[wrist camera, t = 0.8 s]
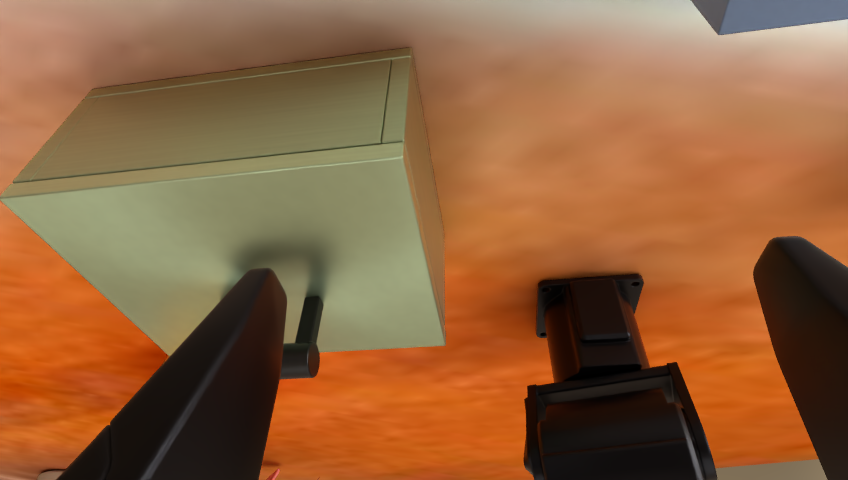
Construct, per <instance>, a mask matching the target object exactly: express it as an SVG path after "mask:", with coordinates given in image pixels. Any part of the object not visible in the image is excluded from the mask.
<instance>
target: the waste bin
mask: <svg viewBox="0 0 848 480" xmlns="http://www.w3.org/2000/svg"><path fill="white" fill-rule="evenodd" d="M397 142H403V143H404V144H405V149H406V153H407V158H408V162H409V167H410V172H411V176H412V181H413V185H414V190H415V194H416V199H417V203H418V208H419V213H420V217H421V222H422V226H423V231H424V235H425V240H426V245H427V249H428V254H429V258H430V263H431V267H432V272H433V276H434V281H435V286H436V290H437V295H438V299H439V304H440V308H441V313H442V317H443V322H444V325H445V261H444V229H443V224H442V218H441V212H440V206H439V201H438V195H437V189H436V184H435V178H434V172H433V166H432V161H431V155H430V149H429V143H428V138H427V132H426V126H425V121H424V115H423V109H422V103H421V98H420V92H419V86H418V80H417V75H416V69H415V63H414V57H413V52H412V49H411V48H402V49H395V50H387V51H379V52H372V53H364V54H356V55H349V56H341V57H334V58H326V59H318V60H311V61H303V62H295V63H288V64H280V65H273V66H265V67H257V68H250V69H242V70H234V71H227V72H219V73H212V74H204V75H196V76H189V77H181V78H173V79H166V80H158V81H151V82H143V83H135V84H128V85H120V86H112V87H105V88H97V89H92V90H91V91H90V92H89V94H88V95H87V96H86V97H85V99H83V100H82V101H81V103H80V104H79V105H78V106H77V107H76V108H75V110H74V111H73V112H72V113H71V114H70V115H69V117H68V118H67V119H66V120H65V121H64V122H63V124H62V125H61V126H60V127H59V128H58V129H57V131H56V132H55V133H54V134H53V135H52V136H51V137H50V139H49V140H48V141H47V142H46V143H45V144H44V146H43V147H42V148H41V149H40V150H39V151H38V153H37V154H36V155H35V156H34V157H33V158H32V160H31V161H30V162H29V163H28V164H27V165H26V167H25V168H24V169H23V170H22V171H21V172H20V174H19V175H18V176H17V177H16V178H15V179H14V181H13V184H15V183H24V182H33V181H43V180H52V179H61V178H71V177H80V176H89V175H99V174H108V173H117V172H127V171H136V170H145V169H155V168H164V167H173V166H183V165H192V164H201V163H211V162H220V161H229V160H239V159H248V158H257V157H267V156H276V155H285V154H295V153H304V152H313V151H323V150H332V149H341V148H351V147H360V146H369V145H379V144H388V143H397Z"/></svg>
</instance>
